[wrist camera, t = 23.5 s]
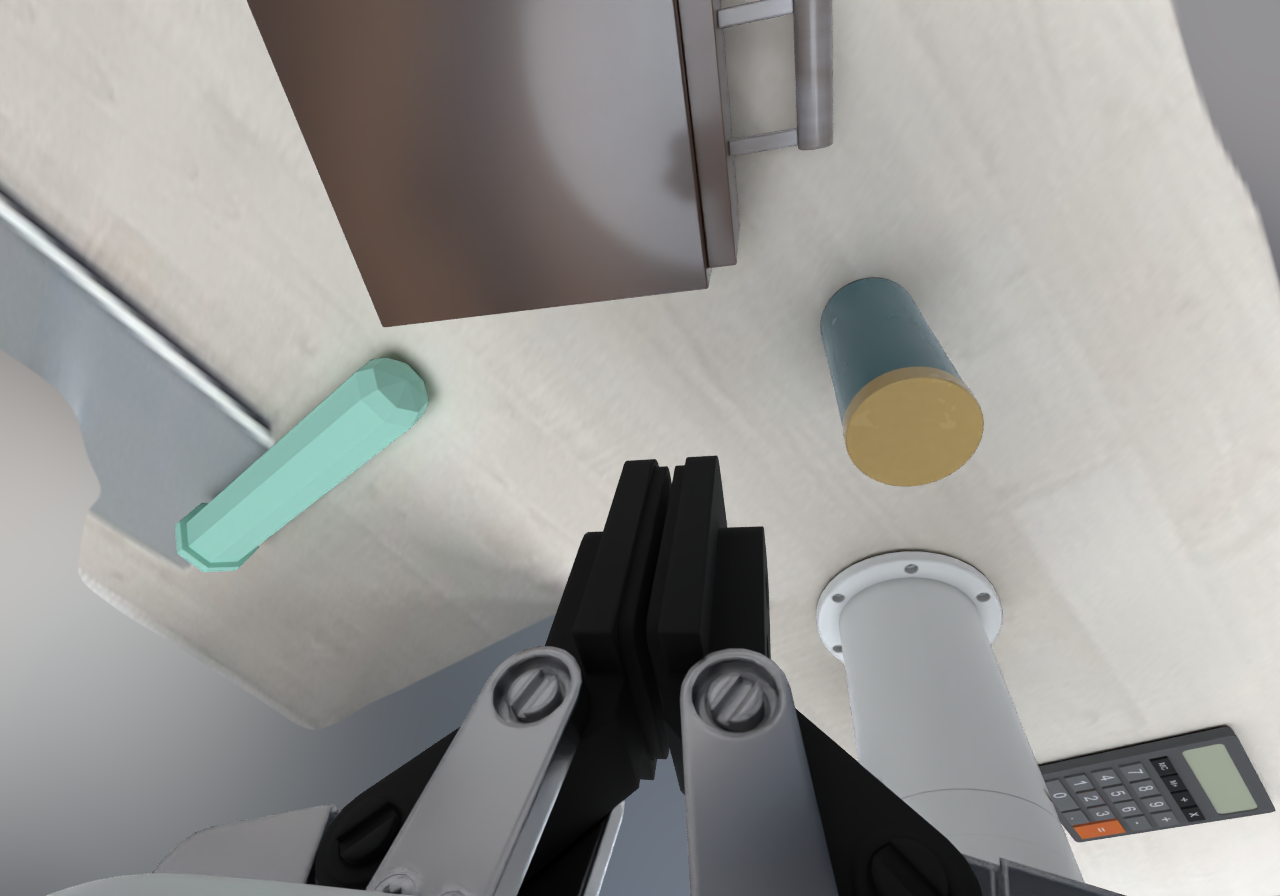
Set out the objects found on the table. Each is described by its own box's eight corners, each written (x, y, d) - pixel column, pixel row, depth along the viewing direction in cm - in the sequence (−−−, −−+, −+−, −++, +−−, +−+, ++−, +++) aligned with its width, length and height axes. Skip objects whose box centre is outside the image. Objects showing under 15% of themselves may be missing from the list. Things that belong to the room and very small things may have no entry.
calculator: (1026, 780, 52) (1237, 737, 46) (1022, 769, 53) (1229, 725, 46) (1077, 845, 56) (1278, 814, 50) (1073, 834, 57) (1270, 802, 50)
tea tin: (913, 359, 35) (976, 484, 25) (820, 367, 36) (845, 489, 26) (919, 270, 32) (992, 371, 22) (818, 282, 33) (845, 383, 23)
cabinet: (682, -109, 25) (654, -168, 18) (718, 236, 33) (708, 289, 26) (357, -21, 29) (227, -42, 22) (455, 272, 36) (382, 328, 29)
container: (354, 389, 34) (159, 559, 45) (441, 437, 38) (242, 583, 49) (372, 323, 38) (188, 494, 49) (450, 373, 42) (263, 521, 53)
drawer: (819, -130, 24) (839, -184, 18) (824, 213, 30) (840, 251, 25) (395, -19, 28) (305, -34, 22) (482, 262, 35) (429, 304, 29)
